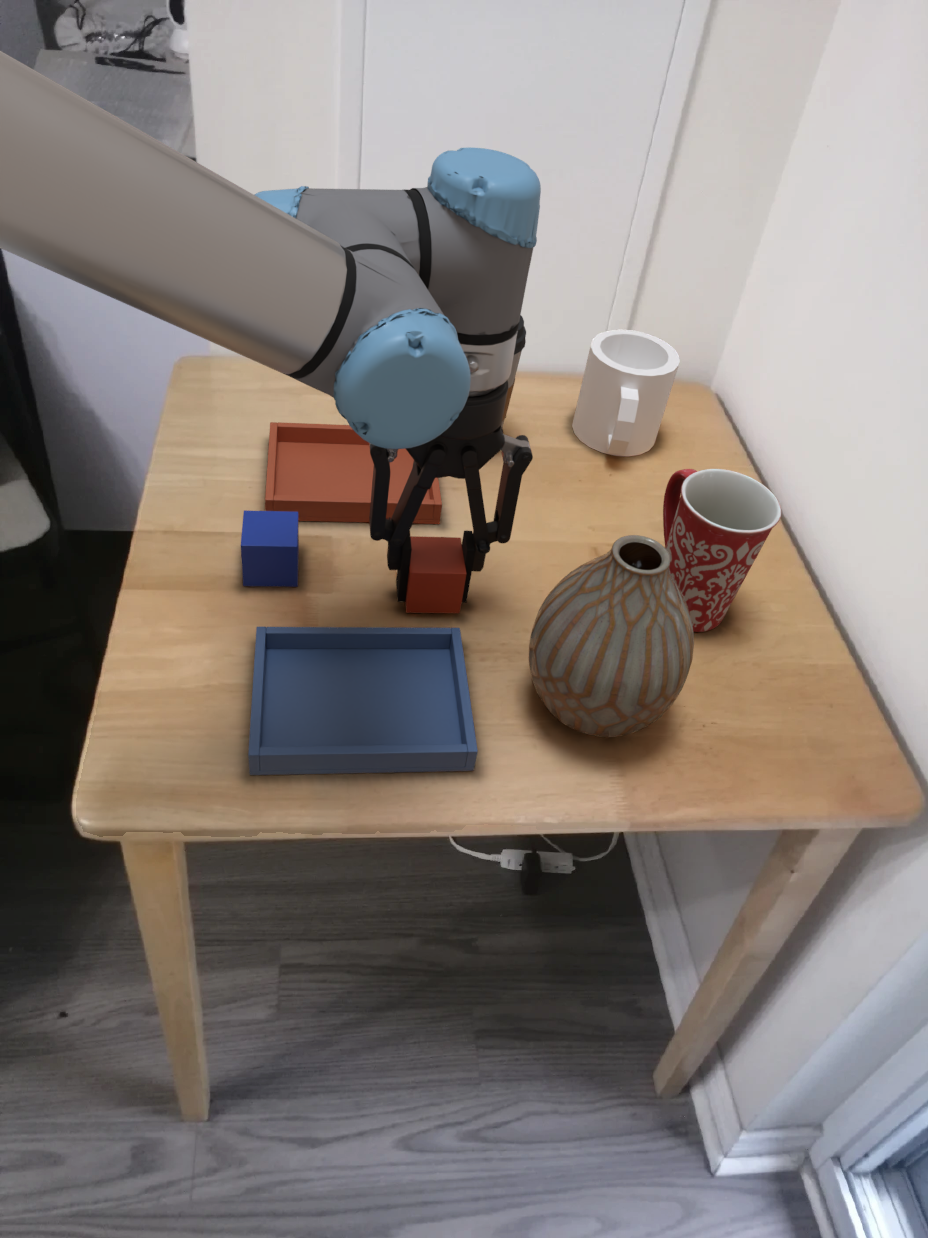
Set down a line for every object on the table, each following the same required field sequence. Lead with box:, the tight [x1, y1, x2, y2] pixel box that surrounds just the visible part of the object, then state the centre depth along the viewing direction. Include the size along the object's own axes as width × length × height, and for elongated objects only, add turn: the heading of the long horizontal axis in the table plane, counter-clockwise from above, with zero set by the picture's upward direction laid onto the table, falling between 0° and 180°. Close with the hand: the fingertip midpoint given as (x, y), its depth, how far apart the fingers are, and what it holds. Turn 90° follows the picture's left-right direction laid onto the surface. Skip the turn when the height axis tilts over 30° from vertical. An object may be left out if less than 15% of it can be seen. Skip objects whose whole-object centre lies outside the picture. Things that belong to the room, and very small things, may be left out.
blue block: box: [240, 509, 300, 588], centre depth 87 cm, size 5×5×5 cm
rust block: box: [404, 535, 466, 614], centre depth 87 cm, size 5×5×5 cm
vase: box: [528, 534, 695, 738], centre depth 76 cm, size 13×13×18 cm
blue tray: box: [247, 626, 479, 776], centre depth 78 cm, size 18×14×3 cm
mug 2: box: [662, 468, 782, 633], centre depth 89 cm, size 13×9×14 cm
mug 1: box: [571, 328, 680, 457], centre depth 108 cm, size 14×10×11 cm
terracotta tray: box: [264, 421, 443, 525], centre depth 99 cm, size 18×14×3 cm
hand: (431, 592), depth 88 cm, fingers closed on rust block, 5 cm apart
